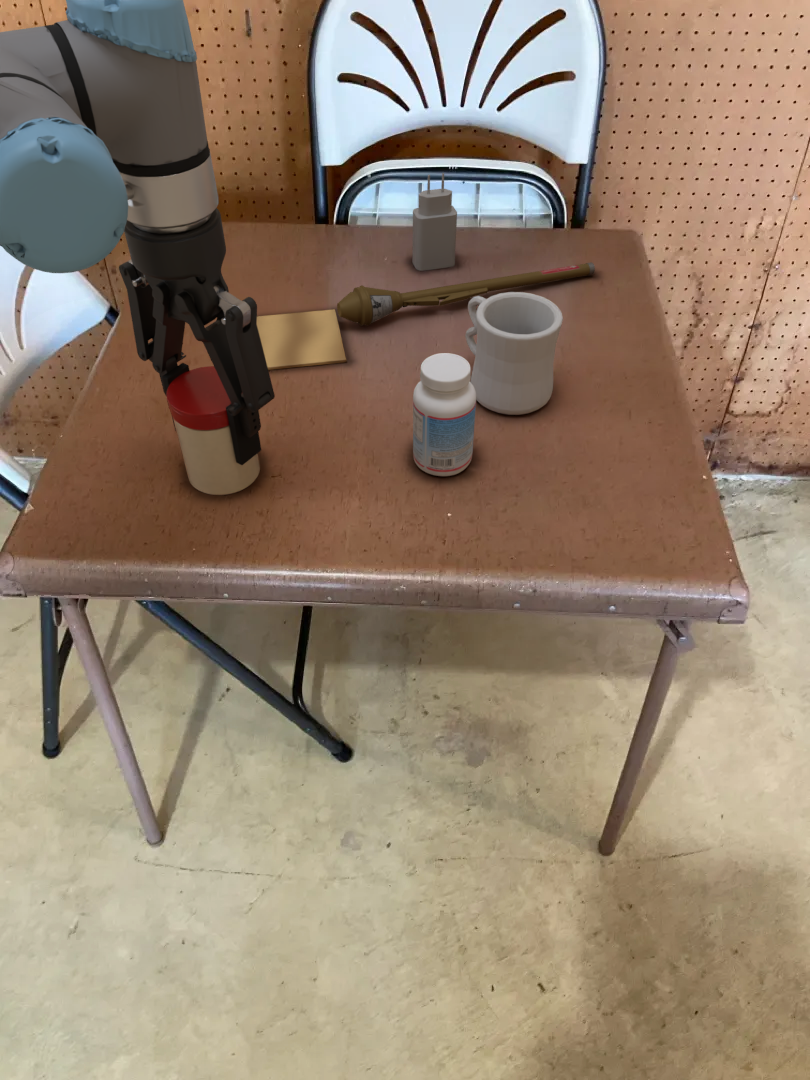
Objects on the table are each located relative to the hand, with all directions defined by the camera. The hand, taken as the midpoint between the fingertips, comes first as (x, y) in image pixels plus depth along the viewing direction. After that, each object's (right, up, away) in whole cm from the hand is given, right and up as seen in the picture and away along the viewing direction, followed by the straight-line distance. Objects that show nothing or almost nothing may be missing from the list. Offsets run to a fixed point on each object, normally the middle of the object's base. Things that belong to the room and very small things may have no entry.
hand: (217, 440), depth 82 cm
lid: (0, +4, -4) cm, 6 cm away
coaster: (+5, +14, +19) cm, 24 cm away
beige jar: (0, -3, +3) cm, 4 cm away
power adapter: (+22, +28, +32) cm, 47 cm away
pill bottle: (+22, -2, +4) cm, 22 cm away
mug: (+29, +7, +13) cm, 33 cm away
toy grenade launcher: (+27, +21, +25) cm, 42 cm away
